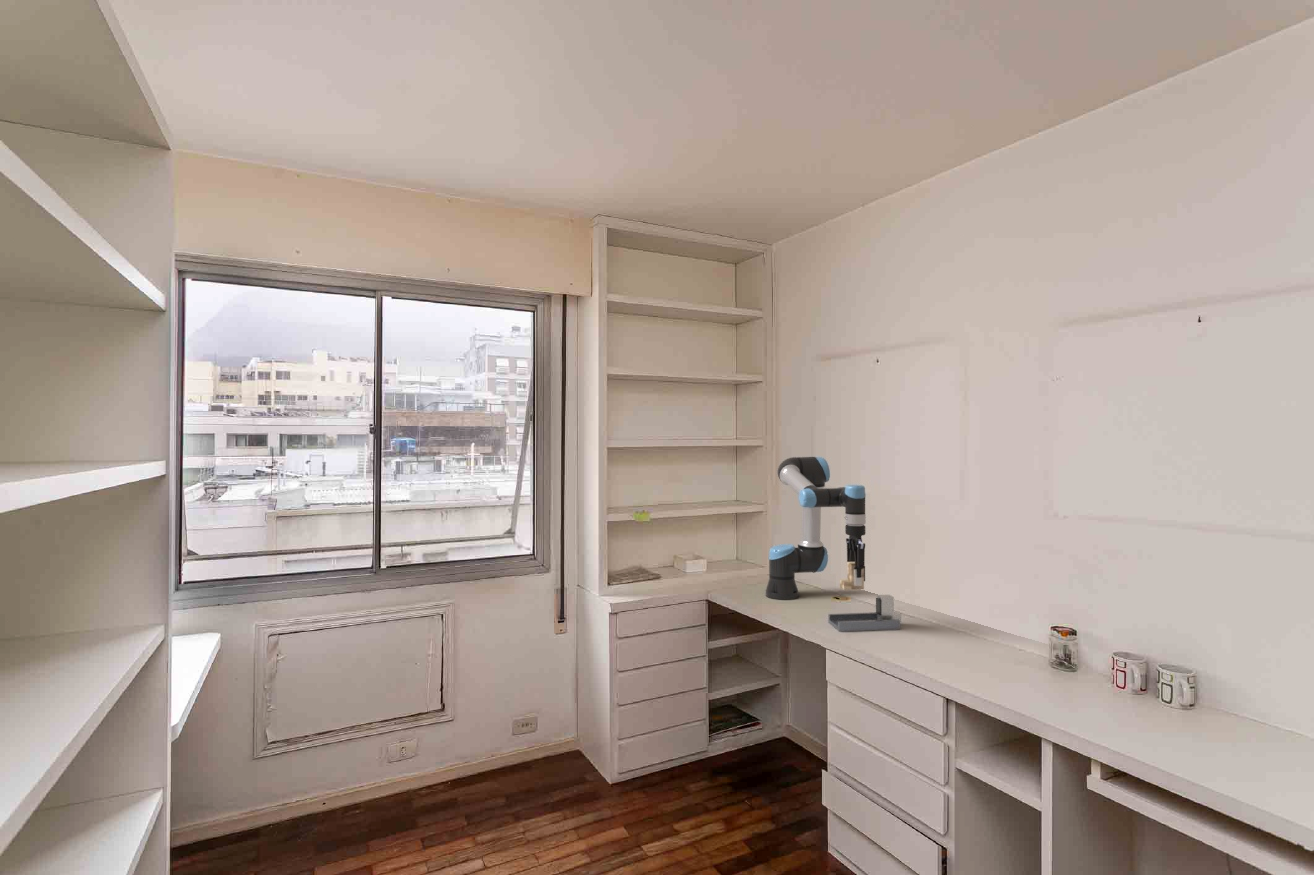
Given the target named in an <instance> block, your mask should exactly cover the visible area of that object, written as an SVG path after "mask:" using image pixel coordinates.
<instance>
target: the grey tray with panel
mask: <svg viewBox="0 0 1314 875" xmlns="http://www.w3.org/2000/svg"><path fill="white" fill-rule="evenodd" d="M827 619H828V620H827V623H828V624H829V625H831V626H832V627H833V628H834V629H835V630H837V631H838V632H839V633H842V632H843V633H844V632H870V631H871V632H873V631H894V630H895V631H896V630H900V629H901V623H902V614H901V613H899V612H898V611H895V598H894V596H892V595H891V594H877V595H876V597H875V612H849V613H848V612H847V613H846V612H845V613H843V612H842V613H828V616H827Z"/></svg>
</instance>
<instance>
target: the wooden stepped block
mask: <svg viewBox="0 0 1314 875" xmlns="http://www.w3.org/2000/svg"><path fill="white" fill-rule="evenodd" d="M846 564H847V565H846V566H847V570H846V571H847V573H846V574H847V579H840V580H839V588H840V589H842V590H843V591H852V590H864V589H865V582H866V566H865V565H864V568H863V569H862V586H854V568H855V562H847V561H846Z"/></svg>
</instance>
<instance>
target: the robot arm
mask: <svg viewBox="0 0 1314 875" xmlns="http://www.w3.org/2000/svg"><path fill="white" fill-rule="evenodd" d="M777 477H778V480H779V481H780V482H782V484H784V485H786V486H789V487H790V488H791V490H793V492H795V493H796V494H797V495H798V502H799V504H800V506H801V534H800V535H801V539H800V540H799V541H798V542H797V547H795V545H794V544H790V543H788V544H785V543H784V544H777V545H773V546H772V547H770V548H769V551H768V552H769V553H768V565H769V566H768V569H769V570H768V571H769V575H768V578H769V579H768V581H767V586H766V587H765V588H766V589H765V596H766V597H767V598H770V599H773V600H774V599H775V600H782V601H783V600H786V601H787V600H795V599H797V598H799V597H800V596H799V593H800V592H799V589H798V585H797V583H796V576H795V575H796V574H799V573H801V574H802V573H803V574H804V573H805V574H806V573H821V572H823V571H825V570H826V567H827V565H828V561H829V555H828V553H829V552H828V550H827V548H826V547H825V546H824V542H822V541H821V519H822V515H821V513H822V508H843V507H844V509H845V516H844V517H843V518H844V519H845V527H844V528H845V531H844V532H845V535H848V536H849V537H848V538H845V542H846V563H847V562H855V568H854V586H862V569H863V568H864V566H865V554H866V553H865V551H866V550H865V549H866V543H863V539H862V536H865V535H866V525H865V524H866V518H867V517H866V488H865V486H864V485H861V484H847V485H845V487H844V486H843V487H834V488H832V487H831V488H826V487H825V486H826V483H828V482H829V481H830V477H831V471H830V466H829V463H828V461H827V460H826V459H825V458H824V457H822V456H802V457H801V456H798V457H796V456H793V457H789V458H787V459H784V460H783V461H782V462H780V464H779V465H778V468H777Z"/></svg>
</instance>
